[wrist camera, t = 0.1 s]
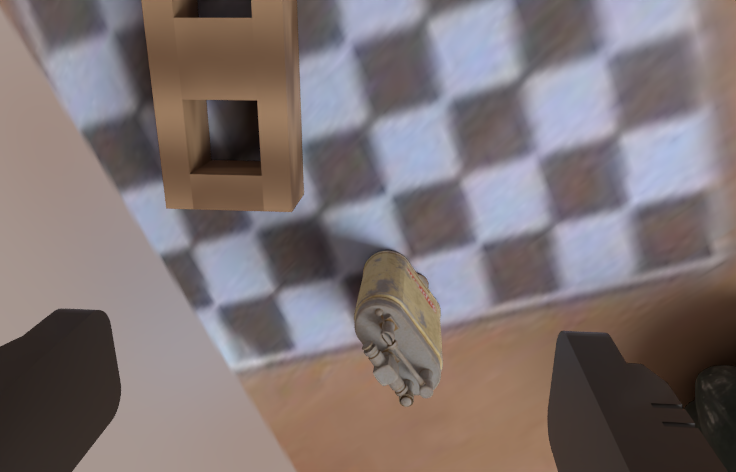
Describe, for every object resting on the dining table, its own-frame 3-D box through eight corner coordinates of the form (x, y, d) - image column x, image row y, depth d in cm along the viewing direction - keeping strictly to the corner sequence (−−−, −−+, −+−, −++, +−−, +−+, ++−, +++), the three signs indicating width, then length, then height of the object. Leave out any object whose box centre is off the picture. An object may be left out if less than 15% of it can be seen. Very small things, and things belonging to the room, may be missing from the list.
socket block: (158, -105, 34) (126, -120, 31) (292, -107, 34) (277, -123, 30) (189, 191, 41) (166, 208, 37) (304, 194, 40) (291, 212, 36)
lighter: (353, 265, 41) (334, 336, 32) (398, 238, 40) (391, 302, 31) (409, 340, 43) (406, 428, 34) (453, 316, 42) (462, 399, 33)
